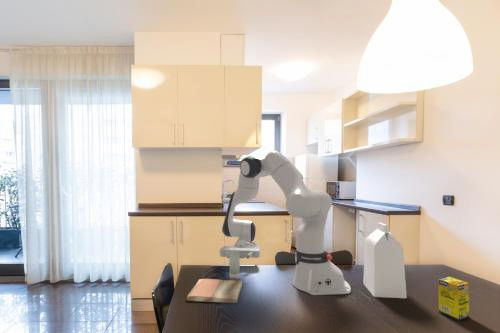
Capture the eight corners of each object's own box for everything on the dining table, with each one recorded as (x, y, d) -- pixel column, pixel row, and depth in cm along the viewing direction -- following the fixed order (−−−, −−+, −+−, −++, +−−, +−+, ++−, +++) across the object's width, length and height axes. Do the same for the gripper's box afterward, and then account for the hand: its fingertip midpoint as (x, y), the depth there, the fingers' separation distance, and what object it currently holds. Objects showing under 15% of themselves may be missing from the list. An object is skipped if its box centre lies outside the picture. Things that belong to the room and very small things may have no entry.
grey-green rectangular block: (240, 277, 115) (240, 250, 116) (238, 281, 111) (238, 252, 111) (230, 277, 115) (230, 249, 116) (228, 281, 111) (228, 252, 112)
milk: (363, 283, 109) (362, 221, 110) (392, 284, 108) (390, 221, 109) (374, 296, 97) (372, 226, 98) (406, 298, 96) (405, 227, 97)
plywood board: (242, 284, 108) (242, 280, 108) (236, 303, 92) (236, 298, 92) (199, 282, 109) (199, 278, 109) (186, 300, 93) (187, 295, 94)
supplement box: (459, 321, 80) (457, 285, 81) (438, 312, 86) (437, 278, 86) (470, 317, 83) (469, 282, 83) (449, 309, 88) (448, 276, 89)
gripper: (222, 242, 138) (216, 249, 124) (260, 243, 136) (259, 250, 122) (222, 254, 138) (216, 262, 124) (260, 255, 136) (259, 264, 122)
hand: (238, 256), depth 123 cm, fingers open, 8 cm apart
